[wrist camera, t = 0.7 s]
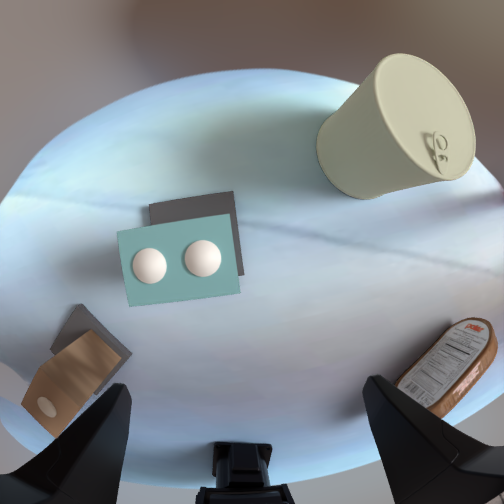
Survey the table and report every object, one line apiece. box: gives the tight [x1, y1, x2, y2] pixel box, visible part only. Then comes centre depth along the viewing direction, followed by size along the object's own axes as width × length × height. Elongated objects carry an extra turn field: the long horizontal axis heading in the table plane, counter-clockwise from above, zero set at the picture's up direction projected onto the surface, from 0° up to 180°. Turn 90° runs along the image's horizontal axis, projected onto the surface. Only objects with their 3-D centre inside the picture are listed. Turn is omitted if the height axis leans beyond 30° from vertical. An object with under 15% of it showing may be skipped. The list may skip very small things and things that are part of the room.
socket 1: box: [50, 304, 132, 395], centre depth 23 cm, size 7×7×1 cm
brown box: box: [21, 329, 121, 438], centre depth 18 cm, size 4×6×9 cm, turn 137°
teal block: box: [117, 214, 241, 307], centre depth 18 cm, size 4×6×9 cm, turn 98°
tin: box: [394, 317, 498, 419], centre depth 22 cm, size 15×3×8 cm, turn 127°
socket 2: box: [149, 191, 244, 276], centre depth 23 cm, size 7×7×1 cm
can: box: [316, 54, 475, 199], centre depth 18 cm, size 9×9×12 cm
